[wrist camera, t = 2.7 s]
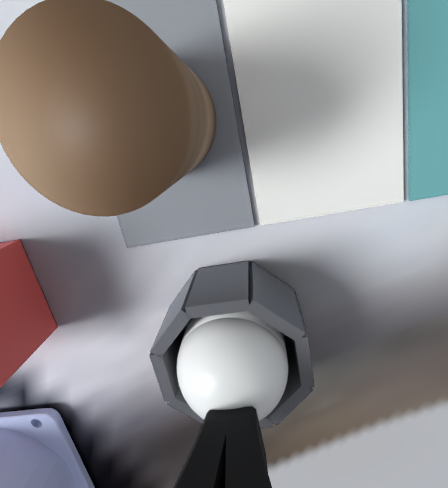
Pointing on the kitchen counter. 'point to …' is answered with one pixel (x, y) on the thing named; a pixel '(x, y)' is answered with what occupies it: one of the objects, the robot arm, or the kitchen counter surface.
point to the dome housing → (232, 301)
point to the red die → (20, 310)
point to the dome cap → (232, 364)
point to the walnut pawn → (99, 107)
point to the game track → (303, 110)
